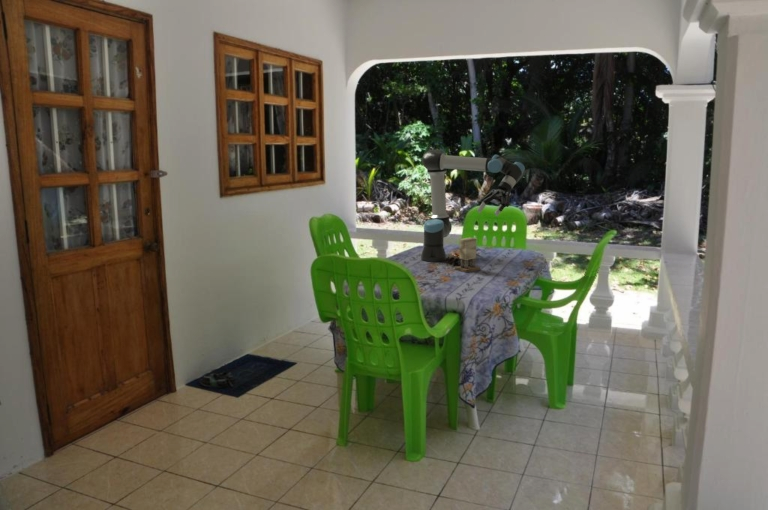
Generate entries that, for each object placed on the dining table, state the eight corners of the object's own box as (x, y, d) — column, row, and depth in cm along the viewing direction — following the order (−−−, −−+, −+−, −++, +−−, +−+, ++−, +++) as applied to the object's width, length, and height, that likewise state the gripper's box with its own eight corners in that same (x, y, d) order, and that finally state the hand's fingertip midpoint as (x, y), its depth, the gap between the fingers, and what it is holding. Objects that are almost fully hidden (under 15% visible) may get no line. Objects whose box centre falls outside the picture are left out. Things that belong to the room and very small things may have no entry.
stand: (454, 269, 348) (454, 258, 347) (468, 266, 355) (469, 255, 353) (466, 272, 341) (466, 261, 340) (480, 269, 348) (480, 258, 346)
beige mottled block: (459, 258, 346) (459, 239, 344) (469, 256, 351) (470, 237, 349) (465, 260, 342) (466, 240, 340) (476, 258, 347) (476, 238, 345)
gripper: (526, 191, 351) (506, 220, 346) (493, 187, 371) (474, 214, 365) (520, 182, 347) (500, 211, 342) (487, 179, 367) (468, 206, 361)
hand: (486, 213), depth 353 cm, fingers open, 13 cm apart
